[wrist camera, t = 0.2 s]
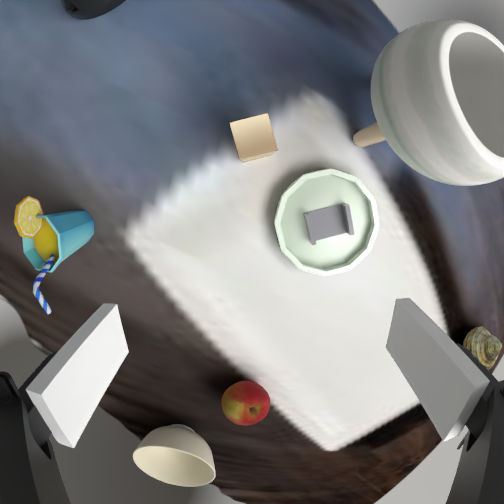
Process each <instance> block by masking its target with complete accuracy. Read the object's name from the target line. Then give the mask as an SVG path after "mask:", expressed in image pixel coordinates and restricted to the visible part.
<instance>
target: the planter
mask: <svg viewBox="0 0 504 504" xmlns="http://www.w3.org/2000/svg"><path fill="white" fill-rule="evenodd" d="M371 101H372V107H373V111H374V114H375V118H376V120H377V122H376V123H374V124H372V125H370V126H368V127H366V128H364V129H362V130H360V131H359V132H357V133H355V134H354V136H353V141H354V143H355V145H356V146H358V147H364V146H368V145H371V144H375V143H378V142H381V141H385V140H386V141H387V142H388V144H389V145H390V146H391V148H392V149H393V150H394V152H395V153H396V154H397V155H398V156H399V157H400V158H401V159H402V160H403V161H404V162H405V163H406V164H407V165H409V166H410V167H411V168H413V169H414V170H415V171H417V172H419V173H420V174H422V175H424V176H426V177H428V178H430V179H433V180H435V181H438V182H442V183H446V184H451V185H461V186H467V185H479V184H485V183H489V182H493V181H496V180H498V179H501V178H503V177H504V45H503V44H502V43H501V42H500V41H499V40H498V39H496V38H495V37H494V36H493V35H492V34H491V33H489V32H488V31H486V30H485V29H483V28H481V27H479V26H477V25H475V24H471V23H468V22H464V21H460V20H433V21H428V22H424V23H420V24H417V25H414V26H412V27H410V28H408V29H406V30H404V31H403V32H401V33H399V34H398V35H396V36H395V37H394V38H393V39H392V40H390V41H389V42H388V44H387V45H386V46H385V47H384V48H383V50H382V51H381V53H380V54H379V56H378V58H377V60H376V63H375V65H374V68H373V72H372V77H371Z"/></svg>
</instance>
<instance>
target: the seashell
mask: <svg viewBox="0 0 504 504" xmlns="http://www.w3.org/2000/svg"><path fill="white" fill-rule="evenodd" d="M463 346H464V347H465V348H467V349H468V350H469V351H470V352H471V353H472V354H473V355H474V357H476V358H477V359H478V360H479V361H480V363H482V364H483V365H484V366H485V368H486V369H487V370H488V371H489V369H490V368H491V367H492V366H493V365H494V363H495V361H496V359H497V357H498V354H499V352H500V350H501V348H502V343H501V342H500V341H499V340H498V339H497V338H496V337H495V336H493V335H491V334H490V333H489V332H488V331H487V329H485V328H484V327H475V328H474V329H472V330H471V331H469V333H468V334H467V336H466V337H465V339H464V342H463Z"/></svg>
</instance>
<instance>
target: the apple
mask: <svg viewBox="0 0 504 504" xmlns="http://www.w3.org/2000/svg"><path fill="white" fill-rule="evenodd" d="M221 403H222V409H223V412H224V414H225V416H226V417H227V418H228V419H229V420H231V421H232V422H234V423H236V424H239V425H251V424H254V423H257V422H259V421H261V420H262V419H263V418H264V417H265V416H266V415H267V413H268V411H269V408H270V398H269V395H268V393H267V392H266V390H265V389H264V388H263V387H262V386H260V385H259V384H257V383H255V382H252V381H240V382H238V383H235V384H233V385H232V386H230V387H229V388H228V389H227V390H226V391H225V392H224V394H223V397H222V402H221Z"/></svg>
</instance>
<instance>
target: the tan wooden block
mask: <svg viewBox="0 0 504 504" xmlns="http://www.w3.org/2000/svg"><path fill="white" fill-rule="evenodd" d="M230 126H231V130H232V133H233V137H234V140H235V144H236V148H237V151H238V155H239V159H240V160H241V161H243V162H248V161H252V160H256V159H260V158H264V157H268V156H271V155H272V154H273V153H274V152H276V151H277V150H278V149H277V145H276V141H275V138H274V134H273V130H272V127H271V123H270V120H269V116H268V113H267V114H263V115H258V116H254V117H250V118H246V119H242V120H238V121H235V122H231V123H230Z"/></svg>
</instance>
